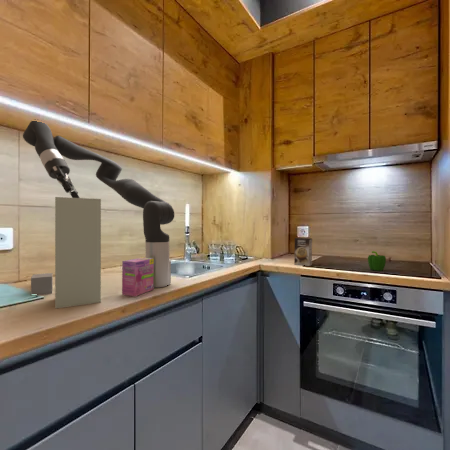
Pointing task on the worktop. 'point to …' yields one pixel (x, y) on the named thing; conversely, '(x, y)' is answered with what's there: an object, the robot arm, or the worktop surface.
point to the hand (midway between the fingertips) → (73, 196)
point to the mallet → (42, 283)
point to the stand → (77, 251)
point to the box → (137, 276)
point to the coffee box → (303, 251)
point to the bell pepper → (376, 261)
